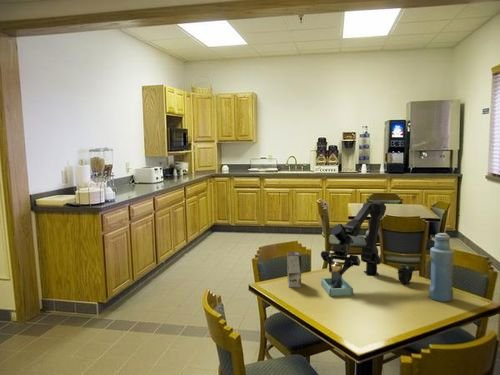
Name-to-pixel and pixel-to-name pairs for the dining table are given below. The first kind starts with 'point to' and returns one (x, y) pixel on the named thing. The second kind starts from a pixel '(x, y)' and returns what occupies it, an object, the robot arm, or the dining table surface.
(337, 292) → the tray
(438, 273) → the bottle
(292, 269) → the coffee box
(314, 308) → the dining table surface
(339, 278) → the cylinder
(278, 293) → the dining table surface
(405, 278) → the controller
